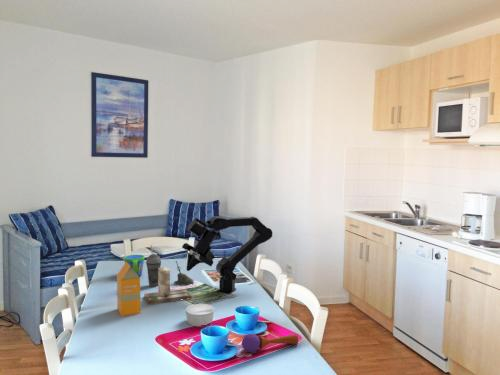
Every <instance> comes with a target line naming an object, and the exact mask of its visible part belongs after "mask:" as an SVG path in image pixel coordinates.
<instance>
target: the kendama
mask: <svg viewBox="0 0 500 375" xmlns="http://www.w3.org/2000/svg"><path fill="white" fill-rule="evenodd" d="M269 344H286V345H287V344H289V345H290V344H291V345H298V344H299V335H298V334H297V333H293V334H290V335H289V334H288V335H284V336H279V337H275V338H271V339H269V338H266V337H264V336H261V335H257V334H255V333H247V334H245V335H244V336H243V338H242V340H241V345H242V348H243V350H244V351H245V352H246V351H247V352H246V353H249V352H253V353H255V352H257V351H258V350H259V349H260V350H261V349H263V348H265V347H266V346H267V345H269Z"/></svg>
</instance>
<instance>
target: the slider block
mask: <svg viewBox="0 0 500 375" xmlns="http://www.w3.org/2000/svg"><path fill="white" fill-rule="evenodd" d="M157 287H158V291H157V292H159V293H160V295H161V296H165V297H167V295H170V291H171V270H170V268H169V266H165V267H160V268H158V286H157Z"/></svg>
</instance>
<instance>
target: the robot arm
mask: <svg viewBox="0 0 500 375" xmlns="http://www.w3.org/2000/svg"><path fill="white" fill-rule="evenodd" d="M249 226H250V227H252V228H253V230H254V233H253V235H252V237H251V238H250V239H248V241H246V242H245V243H244V244H243V245H242V246H240V248H238V250H236V251H235V252H234V253H233V254H232V255H230V256H229V257H226V256H223V257H222V258H221V259H220V260H218V261H217V263H216V265H215V266H216V267H215V270H216V272H217V273H218V274H219V276H220V279H219V284H218V285H219V287H218V292H219V293H221V292H222V293H228V294H232V293H233V292H235V291H236V290H237V288H236V279H237V274H236V273H235V272H234V270H235V269H236V266H237V265H238V264H239V263H241V261H242V260H243V259H244V258H245V257H247V256H248V254H250V253H251V252H252V251H253V250H254V249H256V248H257V247H258V246H259V245H261V244H264V243H265V242H267V241H269V240H271V238H273V230H272V229H271V228H269V227H268V226H266V225H265V224H263V223H262V221H260V220H259V218H257V217H255V216H248V217H247V216H244V217H229V218H228V217H225V216H224V217H223V216H218V215H217V216H216V215H213V216H211V218H210V219H208V220H206V221H204V222H203V221H202V220H200V219H199V218H197V217H195V218H194V219H192V220H191V221H190V223H189V224H188V225H187V231H189V232H190V233H192V234H193V235H195V236H197V237H199V236H201V237H200V238H197V239H196V244H195V246H193V245H191V244H189V243H187V242H185V243H183V244H182V246H181V247H182V249H184V250H185V251H187V253H186V254H187V261H186V268H185V269H186V271H187V272H190V271H191V270H192V269H193V268H195V267H196V266H197V265H199V264H205V265H208V266H209V267H213V264H214V259H215V258H216V257H215V255H214V254H213V252H212V251H211V249H212V244H213V242H214V240H215V239H216V237H218V238H221V232H220V231H222V230H226V229H229V228H233V227H249ZM208 228H209V229H208Z"/></svg>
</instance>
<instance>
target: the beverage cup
mask: <svg viewBox="0 0 500 375" xmlns="http://www.w3.org/2000/svg"><path fill="white" fill-rule="evenodd" d="M150 251H151V254H150V255H149V256H147V258H146V261H145V264H146V268H147V270H146V271H147V278H148V286H149V287H150V288H157V287H158V268H161V267H162V266H161V265H162V260H161V257H160V256H159V255H158V254H156V253H155V254H154V252H153V245H152V244H151V245H150Z"/></svg>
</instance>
